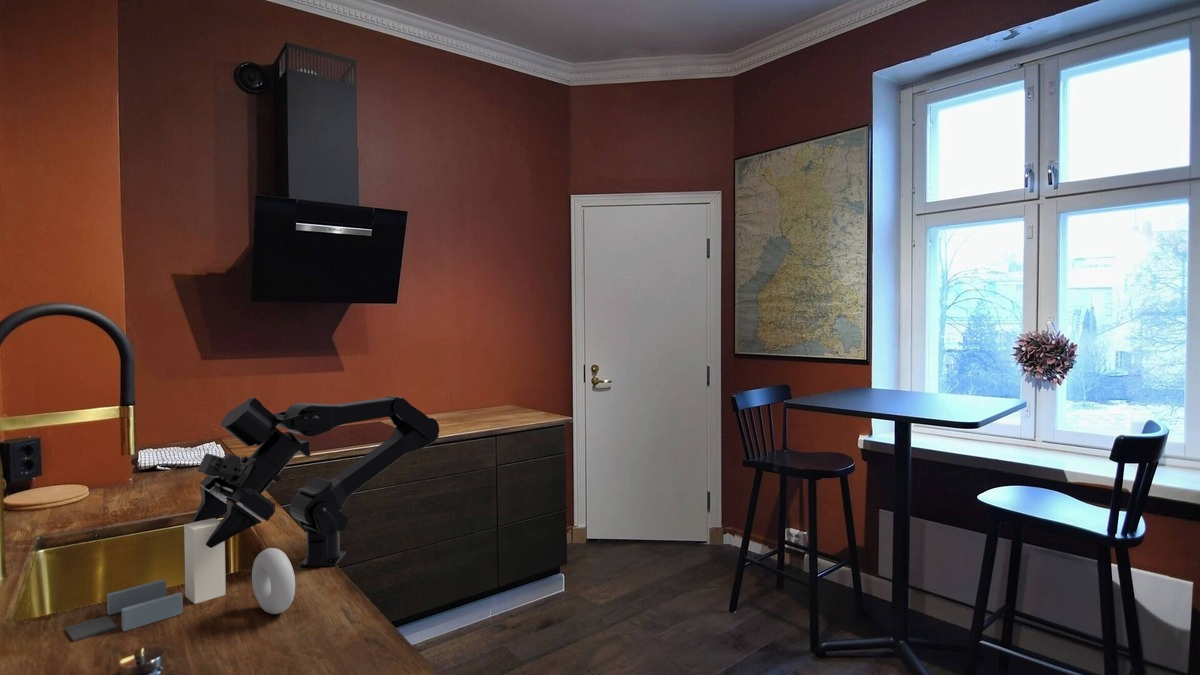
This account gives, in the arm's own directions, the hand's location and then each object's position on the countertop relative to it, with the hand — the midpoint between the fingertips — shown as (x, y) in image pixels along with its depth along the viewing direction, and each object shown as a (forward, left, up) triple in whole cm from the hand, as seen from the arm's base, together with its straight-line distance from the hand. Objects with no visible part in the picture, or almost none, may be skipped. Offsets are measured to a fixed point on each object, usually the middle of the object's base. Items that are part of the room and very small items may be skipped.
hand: (197, 540), depth 103 cm
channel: (+5, -5, -9) cm, 12 cm away
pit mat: (+10, -10, -9) cm, 17 cm away
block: (-1, +1, -9) cm, 10 cm away
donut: (+7, +15, -10) cm, 19 cm away
